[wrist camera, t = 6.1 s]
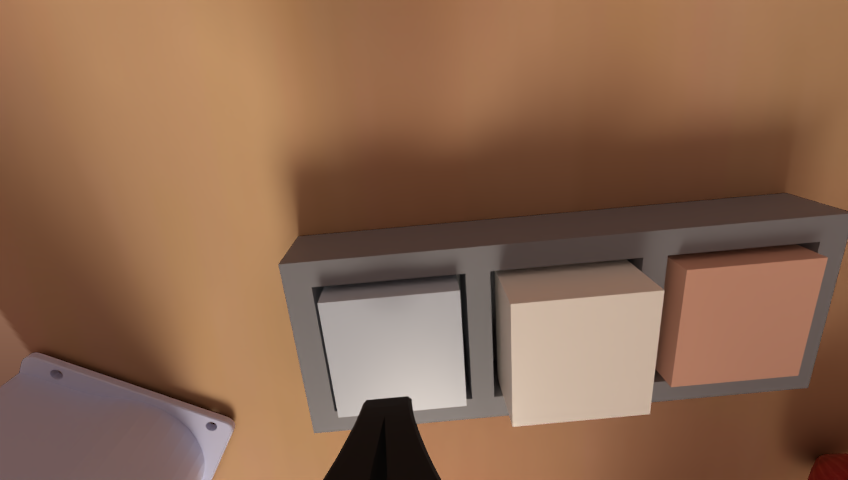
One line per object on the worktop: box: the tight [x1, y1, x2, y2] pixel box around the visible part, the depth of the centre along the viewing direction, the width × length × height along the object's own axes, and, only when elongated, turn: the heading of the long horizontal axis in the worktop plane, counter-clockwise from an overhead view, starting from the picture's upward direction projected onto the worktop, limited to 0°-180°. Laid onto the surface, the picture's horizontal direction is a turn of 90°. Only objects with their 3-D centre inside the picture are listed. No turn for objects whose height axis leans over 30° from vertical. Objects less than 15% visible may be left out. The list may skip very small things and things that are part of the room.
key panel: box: [279, 193, 848, 433], centre depth 18 cm, size 21×8×3 cm, turn 95°
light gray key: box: [317, 274, 467, 418], centre depth 18 cm, size 5×5×3 cm
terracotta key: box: [655, 244, 828, 387], centre depth 18 cm, size 5×5×3 cm
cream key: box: [495, 259, 665, 427], centre depth 16 cm, size 5×5×3 cm
